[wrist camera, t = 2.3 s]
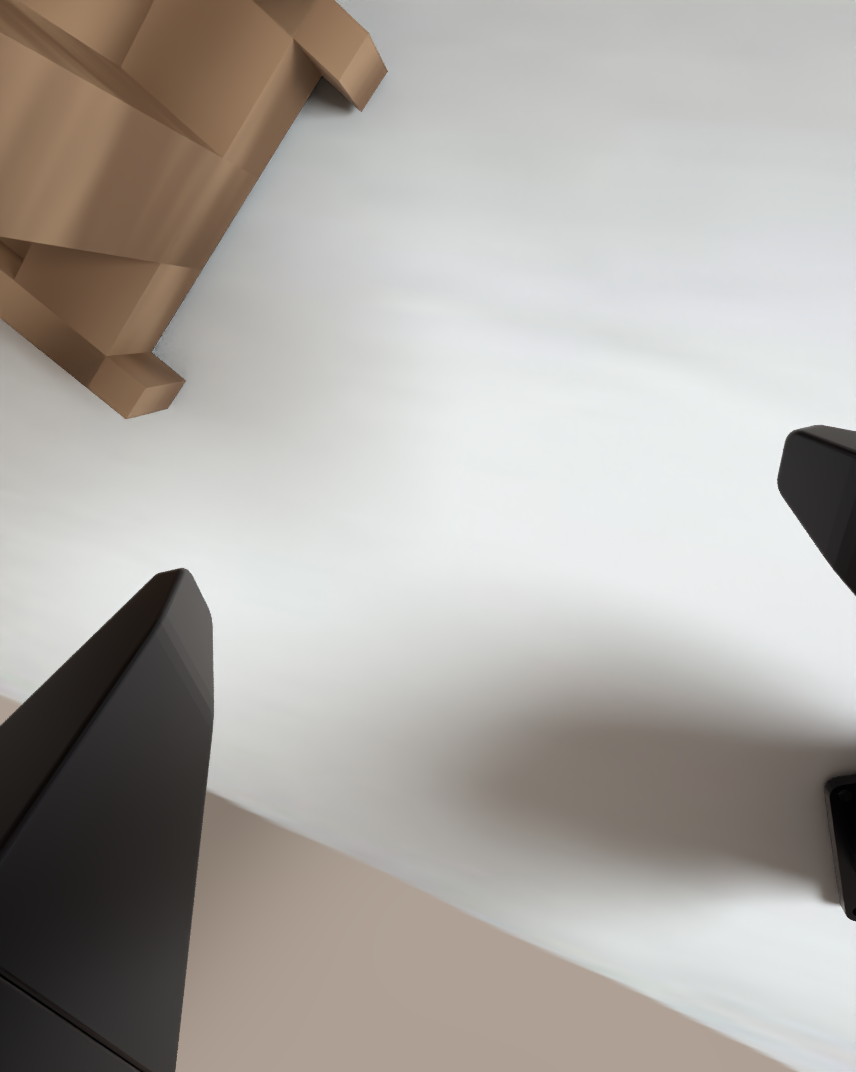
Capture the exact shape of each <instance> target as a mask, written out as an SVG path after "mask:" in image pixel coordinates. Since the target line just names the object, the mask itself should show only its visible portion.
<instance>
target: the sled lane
mask: <svg viewBox="0 0 856 1072" xmlns="http://www.w3.org/2000/svg"><path fill="white" fill-rule="evenodd" d="M387 72H388V71H387V69H386V67H385V65H384V63H383V61H382V59H381V57H380V55H379V53H378V51H377V49H376V47H375V45H374V43H373V41H372V39H371V37H370V35H369V33H368V32H367V31H366V30H365V29H364V28H363V27H362V26H361V25H360V24H359V23H358V22H357V21H356V20H355V19H353V18H352V17H351V16H350V15H349V14H348V13H347V12H346V11H345V10H344V9H343V8H342V7H341V6H340V5H339V4H338V3H337V2H336V1H335V0H0V318H1V319H2V320H4V321H5V322H6V323H7V324H8V325H10V326H11V327H12V328H13V329H15V330H16V331H17V332H18V333H20V334H21V335H22V336H23V337H25V338H26V339H27V340H28V341H30V342H31V343H32V344H33V345H35V346H36V347H37V348H38V349H39V350H41V351H42V352H43V353H44V354H46V355H47V356H48V357H49V358H51V359H52V360H53V361H54V362H56V363H57V364H58V365H59V366H61V367H62V368H63V369H64V370H66V371H67V372H68V373H69V374H70V375H72V376H73V377H74V378H75V379H77V380H78V381H79V382H80V383H82V384H83V385H84V386H85V387H87V388H88V389H89V390H90V391H92V392H93V393H94V394H95V395H97V396H98V397H99V398H100V399H102V400H103V401H104V402H105V403H106V404H108V405H109V406H110V407H111V408H113V409H114V410H115V411H116V412H118V413H119V414H120V415H121V416H123V417H124V418H125V419H129V418H133V417H137V416H141V415H145V414H149V413H153V412H157V411H160V410H164V409H168V407H169V406H170V404H171V403H172V401H173V400H174V398H175V397H176V395H177V394H178V392H179V390H180V389H181V387H182V386H183V384H184V383H185V380H184V379H183V378H182V377H181V376H179V375H178V374H177V373H176V372H175V371H173V370H172V369H171V368H170V367H169V366H167V365H166V364H165V363H164V362H163V361H161V360H160V359H159V358H158V357H156V356H155V355H154V354H153V353H152V350H153V348H154V347H155V345H156V344H157V342H158V340H159V339H160V337H161V335H162V334H163V332H164V331H165V329H166V327H167V326H168V324H169V323H170V321H171V319H172V318H173V316H174V314H175V313H176V311H177V310H178V308H179V306H180V305H181V303H182V301H183V300H184V298H185V297H186V295H187V293H188V292H189V290H190V288H191V287H192V285H193V284H194V282H195V280H196V279H197V277H198V276H199V274H200V272H201V271H202V269H203V267H204V266H205V264H206V263H207V261H208V259H209V258H210V256H211V254H212V253H213V251H214V250H215V248H216V246H217V245H218V243H219V242H220V240H221V238H222V237H223V235H224V233H225V232H226V230H227V229H228V227H229V225H230V224H231V222H232V220H233V219H234V217H235V216H236V214H237V212H238V211H239V209H240V207H241V206H242V204H243V203H244V201H245V199H246V198H247V196H248V195H249V193H250V191H251V190H252V188H253V186H254V185H255V183H256V182H257V180H258V178H259V177H260V175H261V173H262V172H263V170H264V169H265V167H266V165H267V164H268V162H269V160H270V159H271V157H272V156H273V154H274V152H275V151H276V149H277V148H278V146H279V144H280V143H281V141H282V139H283V138H284V136H285V135H286V133H287V131H288V130H289V128H290V126H291V125H292V123H293V122H294V120H295V118H296V117H297V115H298V113H299V112H300V110H301V109H302V107H303V105H304V104H305V102H306V101H307V99H308V97H309V96H310V94H311V92H312V91H313V89H314V88H315V86H316V84H317V83H318V81H319V79H320V78H321V76H323V77H324V78H325V79H326V80H327V81H328V82H329V83H330V84H332V85H333V86H334V87H335V88H336V89H337V90H338V91H339V92H340V93H341V94H342V95H343V96H344V97H346V98H347V99H348V100H349V101H350V102H351V103H352V104H353V105H354V106H355V107H356V108H357V109H358V110H360V111H361V112H362V110H363V108H364V107H365V105H366V104H367V102H368V101H369V99H370V98H371V96H372V95H373V93H374V92H375V90H376V89H377V87H378V85H379V84H380V82H381V81H382V79H383V78H384V76H385V75H386V73H387Z"/></svg>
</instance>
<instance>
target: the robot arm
mask: <svg viewBox="0 0 856 1072" xmlns="http://www.w3.org/2000/svg"><path fill="white" fill-rule="evenodd" d="M777 484H778V489H779V491H780V494H781V495H782V497H783V498H784V500H785V501H786V503H787V504H788V506H789V507H790V508H791V510H792V511H793V513H794V514H795V516H796V517H797V519H798V520H799V521H800V523H801V524H802V526H803V527H804V529H805V530H806V532H807V533H808V534H809V536H810V537H811V539H812V540H813V542H814V543H815V545H816V546H817V547H818V549H819V550H820V552H821V553H822V555H823V556H824V558H825V559H826V560H827V562H828V563H829V564H830V566H831V567H832V568H833V570H834V571H835V572H836V573H837V575H838V576H839V577H840V578H841V579H842V581H843V582H844V583H845V584H846V585H847V587H848V588H849V589H850V590H851V591H852V592H853V593H854V595H855V596H856V431H851V430H845V429H840V428H835V427H830V426H824V425H814V426H810V427H805V428H801V429H797V430H794V431H792V432H791V433H789V435H788V436H787V438H786V440H785V444H784V449H783V454H782V458H781V463H780V468H779V472H778V478H777ZM213 719H214V678H213V625H212V618H211V614H210V611H209V608H208V606H207V604H206V602H205V600H204V598H203V596H202V594H201V592H200V590H199V588H198V586H197V584H196V582H195V580H194V578H193V576H192V574H191V573H190V572H189V571H188V570H187V569H185V568H179V569H174V570H170V571H165V572H161V573H158V574H156V575H155V576H154V577H153V578H152V579H151V580H150V581H149V582H147V583H146V584H145V585H144V586H143V587H142V588H141V589H140V590H139V591H138V592H137V593H136V594H135V595H134V596H133V597H132V598H131V599H130V600H129V601H128V602H127V603H126V604H125V605H124V606H123V607H122V608H121V609H120V610H119V611H118V612H117V613H116V614H115V615H114V616H113V617H112V618H111V619H109V620H108V621H107V622H106V623H105V624H104V625H103V626H102V627H101V628H100V629H99V630H98V631H97V632H96V633H95V634H94V635H93V636H92V637H91V638H90V639H89V640H88V641H87V642H86V643H85V644H84V645H83V646H82V647H81V648H80V649H79V650H78V651H77V652H76V653H75V654H73V655H72V656H71V657H70V658H69V659H68V660H67V661H66V662H65V663H64V664H63V665H62V666H61V667H60V668H59V669H58V670H57V671H56V672H55V673H54V674H53V675H52V676H51V677H50V678H49V679H48V680H47V681H46V682H45V683H44V684H43V685H42V686H41V687H40V688H39V689H37V690H36V691H35V692H34V693H33V694H32V695H31V696H30V697H29V698H28V699H27V700H26V701H25V702H24V703H23V704H22V705H21V706H20V707H19V708H18V709H17V710H16V711H15V712H14V713H13V714H12V715H11V716H10V717H9V718H8V719H7V720H6V721H5V722H4V723H3V724H2V725H0V1072H175V1069H176V1059H177V1050H178V1041H179V1032H180V1023H181V1013H182V1004H183V996H184V987H185V977H186V969H187V959H188V950H189V941H190V932H191V923H192V914H193V905H194V896H195V887H196V877H197V868H198V859H199V850H200V841H201V831H202V823H203V814H204V805H205V796H206V787H207V777H208V768H209V759H210V750H211V741H212V732H213ZM843 790H846V791H845V792H844V793H841V794H838V793H839V792H840V791H843ZM824 793H825V800H826V807H827V814H828V821H829V828H830V835H831V842H832V849H833V856H834V863H835V870H836V877H837V884H838V892H839V899H840V904H841V907H842V909H843V910H844V912H845V914H846V916H847V917H848V918H849V919H850V920H853V921H856V774H855V775H848V776H841V777H836V778H832V779H831V780H829V781H828V782H827V783H826V785H825V787H824Z"/></svg>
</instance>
